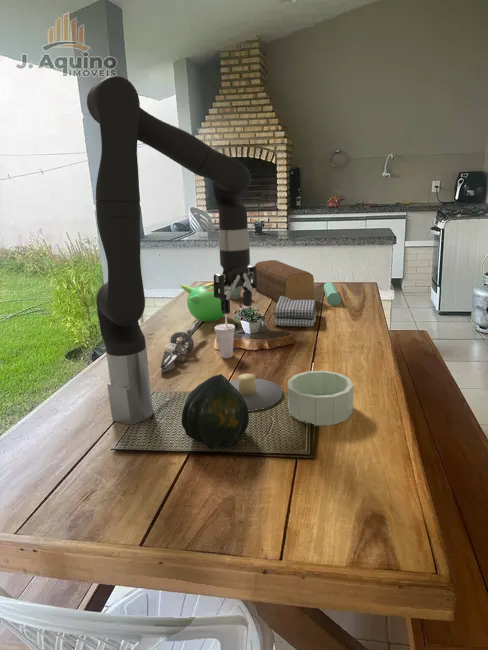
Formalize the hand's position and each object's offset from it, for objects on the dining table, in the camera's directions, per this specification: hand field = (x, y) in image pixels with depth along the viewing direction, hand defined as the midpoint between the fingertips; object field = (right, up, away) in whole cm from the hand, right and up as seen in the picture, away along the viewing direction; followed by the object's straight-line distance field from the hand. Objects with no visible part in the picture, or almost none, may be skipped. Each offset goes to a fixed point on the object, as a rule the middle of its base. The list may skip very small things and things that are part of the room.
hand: (237, 309), depth 133 cm
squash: (-4, -29, -19) cm, 35 cm away
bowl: (+20, -24, -9) cm, 33 cm away
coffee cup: (-3, +8, +97) cm, 97 cm away
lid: (+3, -23, 0) cm, 23 cm away
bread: (+19, +8, +95) cm, 97 cm away
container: (+40, +7, +89) cm, 97 cm away
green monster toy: (-12, -2, +66) cm, 67 cm away
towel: (+21, -3, +60) cm, 64 cm away
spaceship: (-18, -14, +32) cm, 39 cm away
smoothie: (-4, -14, +28) cm, 32 cm away
